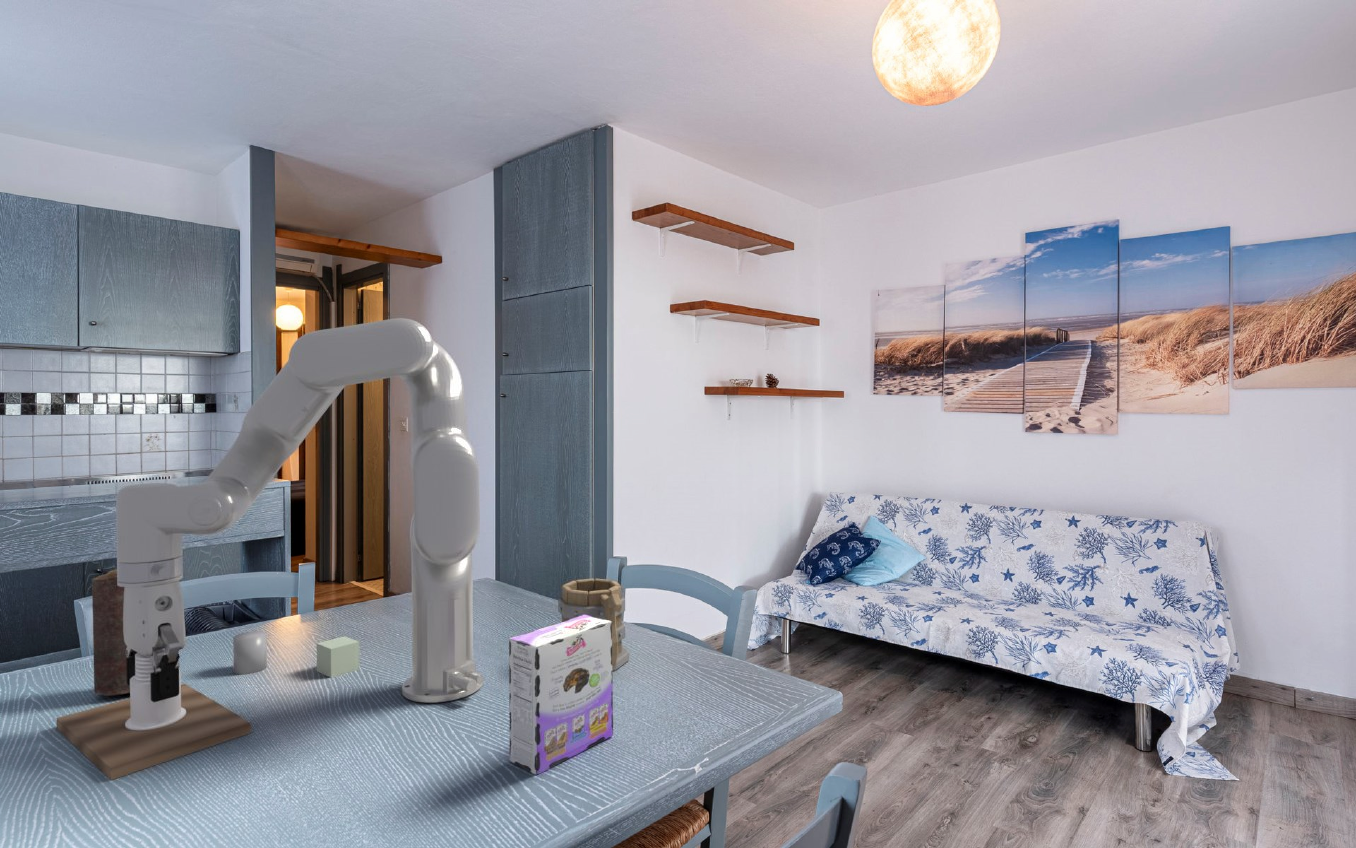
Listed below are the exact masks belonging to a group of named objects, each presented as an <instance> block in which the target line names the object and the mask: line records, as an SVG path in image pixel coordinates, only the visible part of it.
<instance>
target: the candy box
mask: <svg viewBox="0 0 1356 848" xmlns="http://www.w3.org/2000/svg"><path fill="white" fill-rule="evenodd" d="M508 645H509V647H508V649H509V651H508V655H509V658H508V659H509V660H508V661H509V663H508V665H509V666H508V667H509V669H508V672H509V680H508V681H509V688H508V689H509V691H508V692H509V699H508V700H509V714H508V715H509V762H511V763H513V764H515V765H516V766H518V767H520V768H523V770H525V771H528V772H529V773H530V774H533V775H536V776H537V775H539V774H542V773H543V772H546V771H548V770H550V769H551V768H553V767H554V766H557V765H559V764H562V763H563V762H564V761H566V760H568V759H571V758H572V757H575V756H576V755H579V754H580V753H583V752H584V751H586V750H587V749H590V748H592V747H594V746H596V745H597V744H600V743H601V742H604V741H605V740H607V739H608V738H611V737H612V736H614V706H613V705H614V703H613V700H614V698H613V685H614V684H613V683H614V682H613V671H612V621H608V620H604V619H601V618H596V617H592V616H588V615H582V616H579V617H576V618H573V619H570V620H567V621H564V622H562V621H561V622H558V623H555V624H552V625H548V626H546V627H542V628H539V629H536V630H533V631H529V632H526V633H523V634H520V635H516V636H514V637H510V638H509V639H508Z"/></svg>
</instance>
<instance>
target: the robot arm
mask: <svg viewBox="0 0 1356 848" xmlns="http://www.w3.org/2000/svg"><path fill="white" fill-rule="evenodd" d="M394 377H398V378H400V379H401V380H402V381H403V382H404V383H405V385H406V386H407V389H408V391H409V397H410V412H411V413H410V414H411V435H412V436H411V451H410V457H409V461H410V462H409V463H410V467H411V471H412V472H411V473H412V494H413V495H412V496H413V514H412V516H411V520H410V525H409V527H410V528H409V537H410V538H409V539H410V557H411V558H410V559H411V563H410V564H411V659H412V660H411V663H412V664H411V669H412V670H411V671H412V672H411V674H412V676H411V677H409V678H408V679H406V680H405V681H404V682H403V683H402V686H401V693H402V696H403V697H404V698H406V699H407V700H409V701H413V702H418V703H431V704H432V703H444V702H450V701H455V700H459V699H462V698H465V697H468V696H471V695H472V694H474V693H476V692H477V691H478V690H480V689H481V688H482V687H483V683H484V679H485V678H484V675H483V674H482V673H480V672H479V671H478V670H477V662H476V661H474V614H473V613H474V612H473V610H474V606H473V605H474V603H473V602H474V601H473V599H474V597H473V595H474V593H473V592H474V575H473V574H474V573H473V569H474V568H473V567H474V566H473V550H474V549H475V548H476V546H477V544H478V540H479V537H480V535H479V534H480V486H479V485H480V481H479V478H480V476H479V464H478V458H477V454H476V450H475V448H474V447H473V445H472V443H470V441H469V439H468V423H467V421H468V420H467V408H466V407H467V406H466V405H467V404H466V393H465V386H464V380H463V377H462V374H461V372H460V370H459V367H458V366H457V364H456V362H455V361H454V360H453V357H452V356H451V355H450V354H449V353H448V352H447V350H445V349H444V348H443V346H441V345H440V344H439V343H437V342H436V341H434V340H433V337H432V335H431V333H430V332H429V330H428V329H427V327H425V326H424V325H422V323H420V322H419V321H416V320H413V319H410V318H405V317H397V318H390V319H384V320H377V321H372V322H366V323H365V322H364V323H359V324H354V325H347V326H346V325H345V326H339V327H334V328H326V329H320V330H314V331H310V332H307V333H305V334H303V335H302V336H300V337H299V338H297V340H295V342H294V343H293V344H292V346H291V347H290V350H289V353H288V360H287V361H286V363H285V364H284V365H283V366H282V368H281V369H280V371H278V373H277V374H276V376H275V377H274V378H273V379H272V380H271V381H270V383H269V385H268V386H267V387H265V389H264V390H263V392H261V394H260V395H259V397H257V399H256V400H255V401H254V403H253V404H252V405H251V406H250V407H249V409H248V410H247V412H246V413H245V416H244V418H243V420H242V421H243V422H242V425H241V429H240V431H239V434H238V436H237V437H236V439H235V441H234V443H233V444H232V446H231V447H230V449H229V450H228V451H227V453H226V454H225V455H224V456H223V458H222V459H221V460H220V461H219V463H218V464H217V466H215V468H214V469H213V471H211V472H210V474H209V475H208V476H207V477H206V479H205V480H204V481H202V482H199V483H195V484H189V485H182V486H178V485H176V484H174V483H168V482H167V483H165V482H154V483H152V482H151V483H139V484H130V485H125V486H123V487H122V488H120V489H119V490H118V491H117V493H116V496H115V497H116V499H115V513H116V514H115V515H116V519H115V520H116V521H115V523H116V526H115V527H116V530H115V531H116V570H117V585H118V586H120V587H124V603H123V633H124V641H125V644H126V645H127V649H126V656H127V657H129V658H126V681H127V685H129V686H130V679H131V678H132V677H133V676H135V675H136V674H135V671H136V670H135V667H136V666H135V663H136V662H135V654H136V653H140V654H142V655H144V656H147V657H150V660H151V663H152V667H153V671H154V672H153V673H150V679H151V701H153V702H157V701H161V700H165V699H168V698H172V697H175V696H178V695H179V669H180V666H181V665H180V658H181V655H180V653H179V651H181V650H183V649H184V648H185V647H186V644H187V640H186V639H187V638H186V636H187V635H186V624H185V623H186V622H185V609H184V600H183V592H182V588H181V582H180V580H182V579H183V578H184V560H183V559H184V558H183V557H184V556H183V555H184V553H183V552H184V550H183V549H184V547H183V546H184V545H183V544H184V543H183V540H184V539H183V534H185V535H198V536H211V535H215V534H220V533H221V532H224V531H226V530H227V529H229V528H230V527H232V526H233V525H234V524H235V523H236V522H238V521H239V520H241V519H242V517H244V516H245V514H246V513H247V512H248V510H250V508H251V507H252V506H253V504H254V503H255V501H256V500H257V499H258V498H259V496H261V494H262V493H263V491H265V489H266V488H267V486H268V485H269V483H270V482H271V481H272V480H273V478H274V477H275V476H276V474H277V473H278V472H279V470H280V469H281V468H282V467H283V465H284V464H285V463H286V461H287V460H288V459H289V458H290V457H291V456H292V455H293V454H294V453H295V452H296V451H297V450H298V448H299V447H300V445H301V444H302V443H303V441H304V440H305V439H306V437H307V436H308V435H309V433H310V432H311V431H312V429H313V428H314V427H315V426H316V424H317V423H318V422H319V421H320V419H321V418H322V417H323V415H324V413H325V412H326V411H327V410H328V409H329V407H330V406H331V405H332V403H334V401H335V400H336V399H337V397H338V396H339V394H340V393H341V392H342V390H343V389H344V388H345V387H346V386H352V385H356V384H357V385H358V384H363V383H368V382H373V381H374V382H375V381H379V380H383V379H384V380H385V379H390V378H394ZM162 647H165V648H162ZM158 648H161V649H158ZM154 649H157V650H154ZM162 655H163V656H162ZM158 656H162V658H161V660H160V662H159V659H158Z"/></svg>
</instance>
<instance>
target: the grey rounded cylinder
mask: <svg viewBox="0 0 1356 848" xmlns="http://www.w3.org/2000/svg"><path fill="white" fill-rule="evenodd" d="M232 638H233V639H232V641H233V642H232V644H233V645H232V647H233V652H232V653H233V658H232V659H233V674H235V675H240V676H241V675H250V674H251V675H252V674H256V673H258V672H262V671H264V670H266V669H267V664H268V663H267V658H268V657H267V656H268V655H267V632H266V631H263V630H261V631H260V630H257V631H256V630H255V631H248V632H242V633H239V634H236V635H234V636H233V637H232Z"/></svg>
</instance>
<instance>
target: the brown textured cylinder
mask: <svg viewBox="0 0 1356 848" xmlns="http://www.w3.org/2000/svg"><path fill="white" fill-rule="evenodd" d="M91 592H92V595H91V597H92V602H91V603H92V635H93V636H92V637H93V638H92V641H93V642H92V643H93V690H94V691H93V692H94V694H98V695H101V696H114V697H115V696H119V695H124V694H125V695H126V694H130V686H129V685H127V681H126V658H129V657H127V656H126V649H127V645H126V644H125V641H124V633H123V603H124V587H120V586H118V585H117V569H113V570H109V571H108V572H107V573H105V574H101V575H99V576H96V577H93V578H92V579H91Z"/></svg>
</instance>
